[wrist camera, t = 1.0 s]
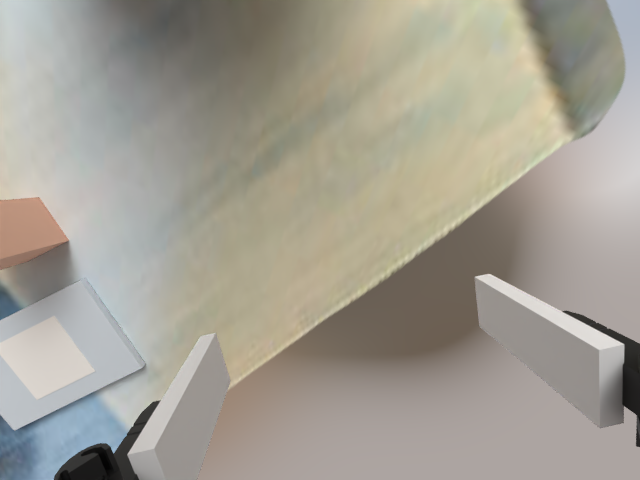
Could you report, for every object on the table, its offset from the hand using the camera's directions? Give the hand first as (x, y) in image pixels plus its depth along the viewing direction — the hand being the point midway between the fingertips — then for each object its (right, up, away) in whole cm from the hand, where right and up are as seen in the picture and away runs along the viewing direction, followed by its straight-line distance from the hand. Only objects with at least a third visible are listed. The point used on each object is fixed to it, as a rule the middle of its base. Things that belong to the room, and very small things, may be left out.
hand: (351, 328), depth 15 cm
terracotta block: (-37, +6, +23) cm, 44 cm away
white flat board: (-38, -11, +26) cm, 47 cm away
